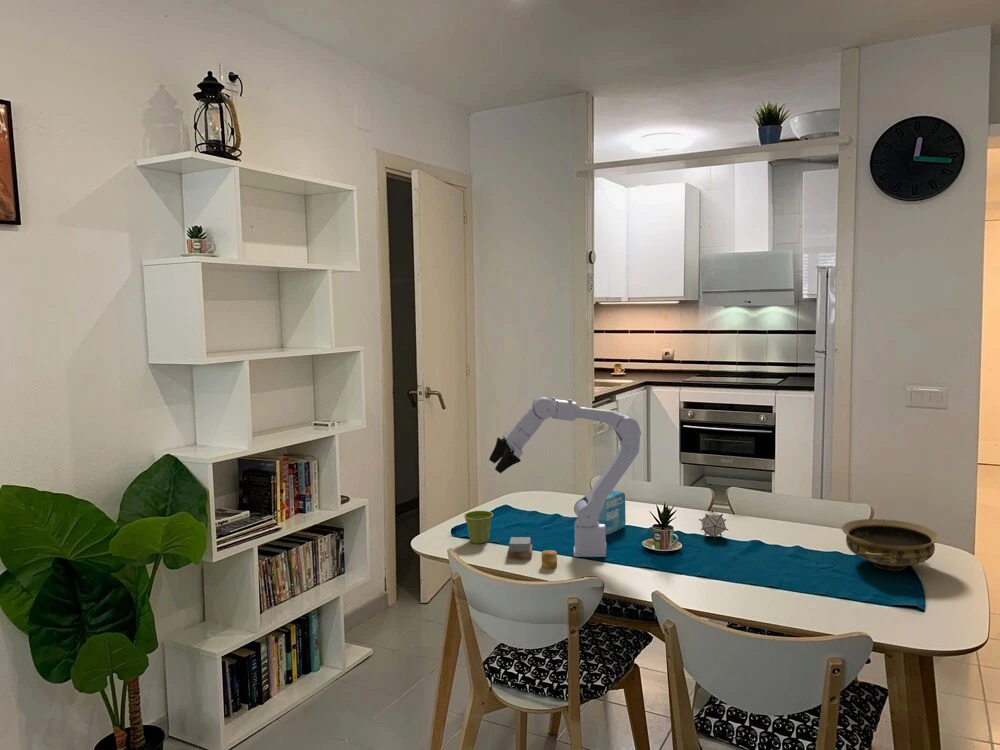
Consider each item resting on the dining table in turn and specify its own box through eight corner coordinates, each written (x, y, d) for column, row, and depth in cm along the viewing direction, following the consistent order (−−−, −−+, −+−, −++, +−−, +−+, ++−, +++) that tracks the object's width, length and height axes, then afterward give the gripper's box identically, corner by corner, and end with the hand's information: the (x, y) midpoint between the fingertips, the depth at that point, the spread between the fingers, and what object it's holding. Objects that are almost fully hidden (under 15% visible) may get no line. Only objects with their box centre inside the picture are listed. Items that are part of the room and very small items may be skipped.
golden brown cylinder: (557, 563, 220) (556, 550, 219) (557, 568, 215) (556, 555, 215) (542, 563, 220) (541, 550, 220) (541, 568, 216) (541, 555, 215)
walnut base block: (532, 552, 231) (532, 544, 231) (531, 560, 224) (531, 552, 224) (509, 552, 231) (509, 544, 231) (507, 560, 225) (507, 552, 224)
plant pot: (461, 545, 238) (460, 518, 237) (469, 535, 248) (468, 509, 247) (489, 546, 236) (489, 519, 235) (497, 537, 245) (496, 510, 244)
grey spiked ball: (720, 548, 239) (739, 527, 234) (699, 543, 235) (717, 521, 231) (709, 527, 246) (727, 506, 241) (688, 522, 243) (706, 500, 238)
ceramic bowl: (860, 542, 229) (861, 510, 228) (950, 559, 213) (951, 525, 212) (824, 571, 207) (825, 536, 206) (922, 593, 191) (923, 554, 190)
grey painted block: (530, 545, 230) (530, 537, 230) (529, 551, 224) (529, 543, 224) (511, 545, 231) (510, 537, 230) (509, 551, 225) (509, 543, 224)
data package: (605, 536, 243) (604, 499, 241) (593, 533, 246) (593, 497, 244) (625, 526, 252) (625, 491, 250) (614, 524, 255) (613, 489, 253)
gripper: (507, 415, 228) (479, 450, 229) (520, 431, 215) (490, 468, 216) (524, 428, 231) (496, 462, 232) (538, 445, 217) (508, 481, 218)
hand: (494, 466), depth 224 cm, fingers open, 7 cm apart
